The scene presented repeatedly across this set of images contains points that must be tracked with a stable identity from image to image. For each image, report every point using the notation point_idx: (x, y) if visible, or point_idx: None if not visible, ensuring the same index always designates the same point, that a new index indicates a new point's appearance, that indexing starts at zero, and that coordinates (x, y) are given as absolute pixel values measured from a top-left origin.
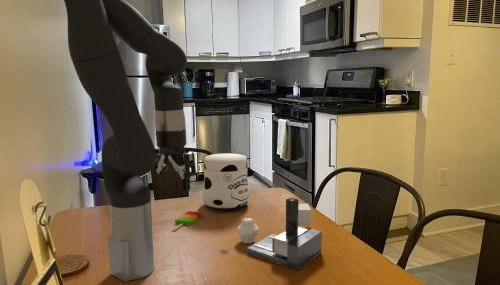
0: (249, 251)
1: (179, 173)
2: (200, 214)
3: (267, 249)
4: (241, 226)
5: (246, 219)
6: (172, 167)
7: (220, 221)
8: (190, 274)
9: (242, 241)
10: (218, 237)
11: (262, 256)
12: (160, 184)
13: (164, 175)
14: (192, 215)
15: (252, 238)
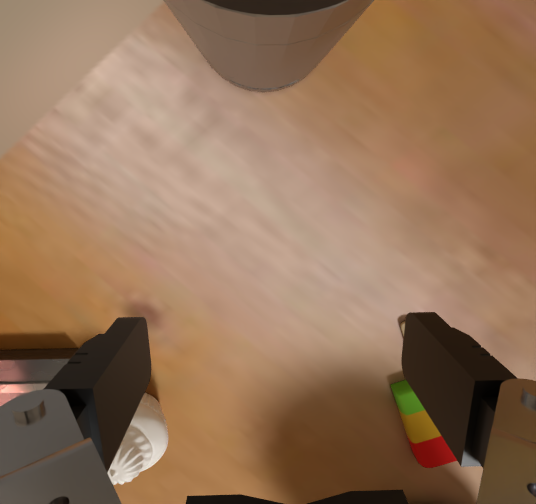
0: (64, 353)
1: (71, 434)
2: (416, 457)
3: (8, 384)
4: (127, 430)
5: (113, 467)
6: (231, 498)
7: (328, 462)
8: (92, 132)
9: (145, 394)
10: (238, 375)
11: (12, 353)
12: (429, 318)
13: (452, 411)
14: (430, 435)
15: None
